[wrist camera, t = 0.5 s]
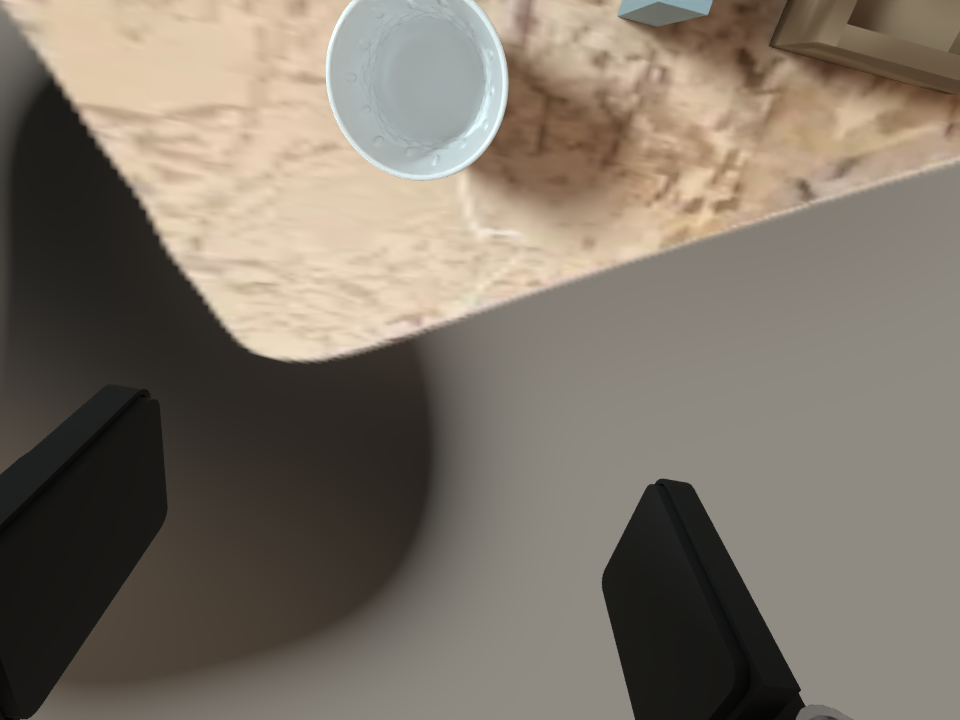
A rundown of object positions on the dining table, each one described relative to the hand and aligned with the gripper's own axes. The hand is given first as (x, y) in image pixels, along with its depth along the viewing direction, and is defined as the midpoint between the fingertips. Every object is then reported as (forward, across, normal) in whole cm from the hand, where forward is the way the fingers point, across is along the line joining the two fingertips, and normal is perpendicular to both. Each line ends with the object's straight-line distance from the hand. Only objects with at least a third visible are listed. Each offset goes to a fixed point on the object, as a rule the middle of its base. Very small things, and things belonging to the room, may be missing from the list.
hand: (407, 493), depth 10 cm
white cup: (+28, +2, -6) cm, 29 cm away
